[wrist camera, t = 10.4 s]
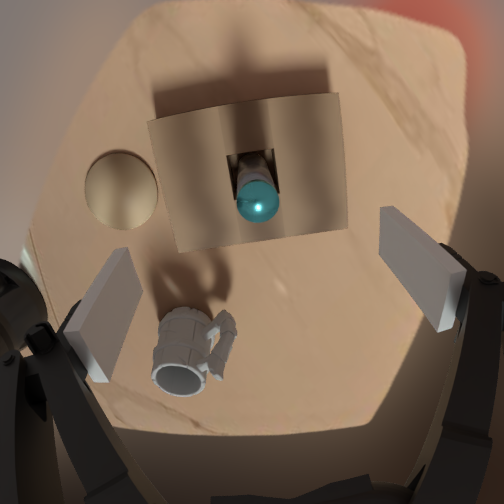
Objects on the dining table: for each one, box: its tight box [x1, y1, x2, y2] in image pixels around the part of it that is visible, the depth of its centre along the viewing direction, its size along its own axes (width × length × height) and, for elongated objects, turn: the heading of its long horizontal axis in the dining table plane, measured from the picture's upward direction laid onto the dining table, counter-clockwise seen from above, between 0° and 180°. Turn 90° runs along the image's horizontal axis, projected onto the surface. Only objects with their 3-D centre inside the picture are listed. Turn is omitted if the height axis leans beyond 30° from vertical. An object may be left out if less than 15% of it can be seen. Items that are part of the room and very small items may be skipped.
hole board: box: [147, 93, 348, 253], centre depth 31 cm, size 18×14×4 cm
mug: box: [151, 307, 237, 397], centre depth 37 cm, size 8×12×12 cm, turn 123°
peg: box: [236, 153, 280, 223], centre depth 28 cm, size 3×3×12 cm
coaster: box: [85, 153, 158, 230], centre depth 33 cm, size 9×9×1 cm
